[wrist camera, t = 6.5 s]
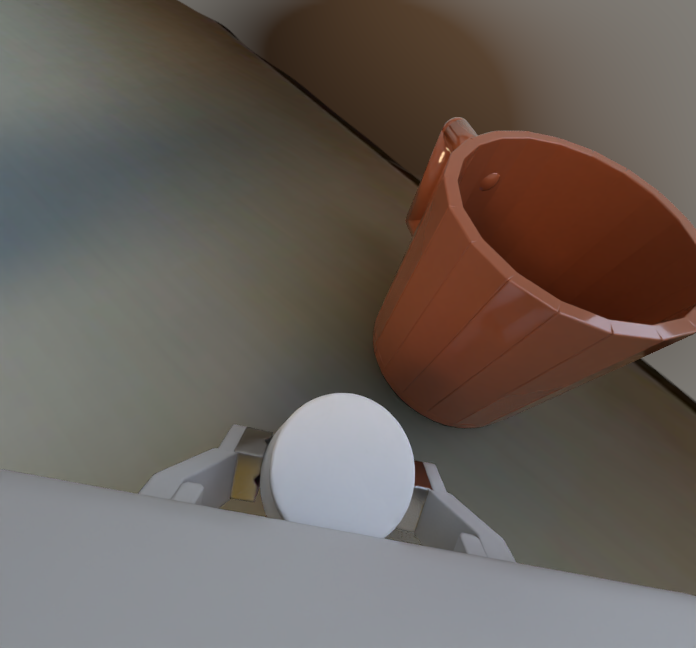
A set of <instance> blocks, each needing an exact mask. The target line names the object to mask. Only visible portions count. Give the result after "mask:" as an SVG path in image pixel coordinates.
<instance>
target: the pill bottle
mask: <svg viewBox="0 0 696 648" xmlns="http://www.w3.org/2000/svg"><path fill="white" fill-rule="evenodd" d="M414 484H415V464H414V457H413V453H412V449H411V446H410V443H409V440H408V438H407V436H406V434H405V432H404V430H403V429H402V427H401V426H400V424H399V423H398V421H397V420H396V419H395V418H394V417H393V416H392V415H391V413H389V412H388V411H387V410H386V409H385V408H384V407H382V406H381V405H379V404H378V403H376V402H374V401H373V400H370V399H368V398H366V397H363V396H360V395H356V394H351V393H333V394H328V395H323V396H320V397H318V398H315V399H313V400H311V401H309V402H307V403H305V404H304V405H303V406H301V407H300V408H298V409H297V410H296V411H295V412H294V413H293V414H292V415H291V416H290V417H289V418H288V420H287V421H286V422H285V423H284V424H283V425H282V426H281V427H280V428H279V429H278V430H277V432H276V433H275V434H274V436H273V438H272V439H271V441H270V443H269V445H268V447H267V450H266V452H265V455H264V458H263V462H262V467H261V473H260V492H261V499H262V504H263V507H264V511H265V513H266V517H268V518H274V519H279V520H285V521H290V522H296V523H301V524H307V525H312V526H318V527H323V528H329V529H334V530H340V531H345V532H351V533H356V534H362V535H367V536H373V537H378V538H385V537H386V536H388V535H389V534H390V533H391V532H392V531H393V530H394V529H395V528H396V526H397V525H398V524H399V523H400V521H401V520H402V518H403V516H404V515H405V513H406V511H407V509H408V507H409V504H410V501H411V498H412V494H413V489H414Z"/></svg>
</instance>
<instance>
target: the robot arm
mask: <svg viewBox="0 0 696 648" xmlns="http://www.w3.org/2000/svg"><path fill="white" fill-rule="evenodd" d="M272 436H273V432H269V431H264V430H260V429H255V428H251V427H246V426H241V425H236V424H234V425H232V426H231V428H230V430H229V431H228V433H227V435H226V436H225V438H224V439H223V441H222V443H221V444H220V446H219V448H218V449H217V448H213V449H210V450H208V451H206V452H204V453H201V454H199V455H197V456H194V457H192V458H190V459H187V460H185V461H183V462H181V463H178V464H176V465H174V466H171V467H169V468H167V469H164V470H162V471H160V472H158V473H155V474H154V475H153V476H152V477H151V478H150V479H149V481H148V482H147V483H146V484H145V485H144V487H143V488H142V489H141V490H140V491H139V493H138V494H137V493H131V492H126V491H120V490H115V489H109V488H104V487H98V486H93V485H87V484H82V483H76V482H71V481H65V480H60V479H54V478H49V477H43V476H38V475H32V474H27V473H21V472H16V471H10V470H5V469H0V648H696V596H693V595H690V594H686V593H681V592H676V591H670V590H664V589H659V588H653V587H647V586H642V585H636V584H631V583H625V582H620V581H614V580H609V579H603V578H598V577H592V576H587V575H581V574H576V573H570V572H565V571H559V570H554V569H548V568H543V567H538V566H532V565H527V564H521V563H516V561H515V559H514V557H513V555H512V554H511V552H510V550H509V548H508V546H507V544H506V542H505V541H504V539H503V538H502V537H500V536H499V535H498V534H497V533H496V532H495V531H493V530H492V529H491V528H490V527H489V526H488V525H487V524H485V523H484V522H483V521H482V520H481V519H480V518H478V517H477V516H476V515H475V514H474V513H473V512H471V511H470V510H469V509H468V508H467V507H466V506H465V505H463V504H462V503H461V502H460V501H459V500H458V499H456V498H455V497H454V496H453V495H452V494H450V493H447V491H446V489H445V486H444V484H443V482H442V479H441V477H440V475H439V472H438V470H437V467H436V465H435V464H433V463H427V462H420V461H414V464H415V484H414V489H413V494H412V498H411V501H410V504H409V507H408V509H407V511H406V513H405V515H404V516H403V518H402V520H401V521H400V523H399V524H398V525H397V526H396V529H400V530H405V531H409V532H414V534H415V535H416V537H417V538H418V539H419V541H420V542H421V544H422V545H423V546H422V545H417V544H411V543H406V542H400V541H395V540H389V539H384V538H378V537H373V536H367V535H362V534H356V533H351V532H345V531H340V530H334V529H329V528H323V527H318V526H312V525H307V524H301V523H296V522H290V521H285V520H279V519H274V518H268V517H263V516H257V515H252V514H246V513H241V512H235V511H230V510H224V509H219V507H221V506H222V505H223V504H225V503H226V502H227V501H229V499H236V500H243V501H249V502H254V501H255V499H256V496H257V493H258V490H259V487H260V473H261V467H262V462H263V458H264V455H265V452H266V450H267V447H268V445H269V443H270V441H271V439H272Z"/></svg>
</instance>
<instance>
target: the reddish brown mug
mask: <svg viewBox="0 0 696 648" xmlns="http://www.w3.org/2000/svg"><path fill="white" fill-rule="evenodd" d="M406 225H407V227H408V229H409V231H410V233H411V235H412V239H411V241H410V243H409V246H408V248H407V250H406V252H405V254H404V256H403V259H402V261H401V263H400V265H399V267H398V270H397V272H396V274H395V276H394V278H393V280H392V283H391V285H390V287H389V289H388V291H387V293H386V296H385V298H384V300H383V302H382V305H381V308H380V310H379V312H378V314H377V317H376V320H375V324H374V330H373V345H374V352H375V356H376V359H377V362H378V365H379V367H380V370H381V372H382V374H383V375H384V377H385V379H386V381H387V382H388V384H389V385H390V386H391V388H392V389H393V390H394V392H395V393H396V394H397V395H398V396H399V397H400V398H401V399H402V400H403V401H404V402H405V403H406V404H408V405H409V406H410V407H411V408H413V409H414V410H416V411H417V412H419V413H420V414H422V415H423V416H425V417H427V418H429V419H431V420H433V421H436V422H439V423H441V424H444V425H448V426H453V427H459V428H479V427H484V426H488V425H491V424H494V423H496V422H499V421H501V420H505V419H508V418H510V417H512V416H514V415H516V414H519V413H521V412H523V411H525V410H527V409H530V408H532V407H534V406H536V405H538V404H541V403H543V402H545V401H547V400H550V399H552V398H554V397H556V396H558V395H561V394H563V393H565V392H567V391H569V390H572V389H574V388H576V387H578V386H580V385H583V384H585V383H587V382H589V381H591V380H594V379H596V378H598V377H600V376H602V375H605V374H607V373H609V372H611V371H613V370H616V369H618V368H620V367H622V366H624V365H627V364H629V363H631V362H633V361H635V360H638V359H640V358H642V357H644V356H646V355H649V354H651V353H653V352H655V351H657V350H660V349H662V348H664V347H666V346H668V345H671V344H673V343H675V342H677V341H679V340H682V339H684V338H686V337H688V336H690V335H693V334H694V333H696V229H695V228H694V226H693V225H692V223H691V222H690V221H689V220H688V219H687V218H686V217H685V216H684V215H683V214H682V213H681V212H680V211H679V210H678V209H677V208H676V207H675V206H674V205H673V204H672V203H671V202H670V201H669V200H668V199H667V198H666V197H665V196H664V195H663V194H661V193H659V191H658V190H656V189H655V188H653V187H652V186H651V185H649V184H648V183H647V182H645V181H644V180H642V179H641V178H640V177H638V176H637V175H635V174H634V173H633V172H631V171H630V170H627V168H625V167H623V166H621V165H619V164H617V163H616V162H614V161H612V160H610V159H608V158H606V157H604V156H603V155H601V154H599V153H597V152H595V151H593V150H590V149H588V148H585V147H582V146H580V145H577V144H574V143H571V142H569V141H566V140H563V139H561V138H557V137H552V136H547V135H543V134H537V133H532V132H528V131H526V132H525V131H493V132H489V133H485V134H482V135H477V134H476V133H475V131H474V130H473V129H472V127H471V126H470V125H469V123H468V122H467V121H466V120H465V119H463V118H461V117H455V118H452V119H450V120H449V121H448V122H446V123H445V125H444V126H443V128H442V131H441V133H440V135H439V138H438V140H437V143H436V145H435V148H434V150H433V153H432V155H431V157H430V160H429V163H428V165H427V167H426V170H425V172H424V175H423V177H422V179H421V182H420V184H419V187H418V189H417V192H416V194H415V197H414V199H413V202H412V204H411V206H410V209H409V211H408V214H407V216H406Z"/></svg>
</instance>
